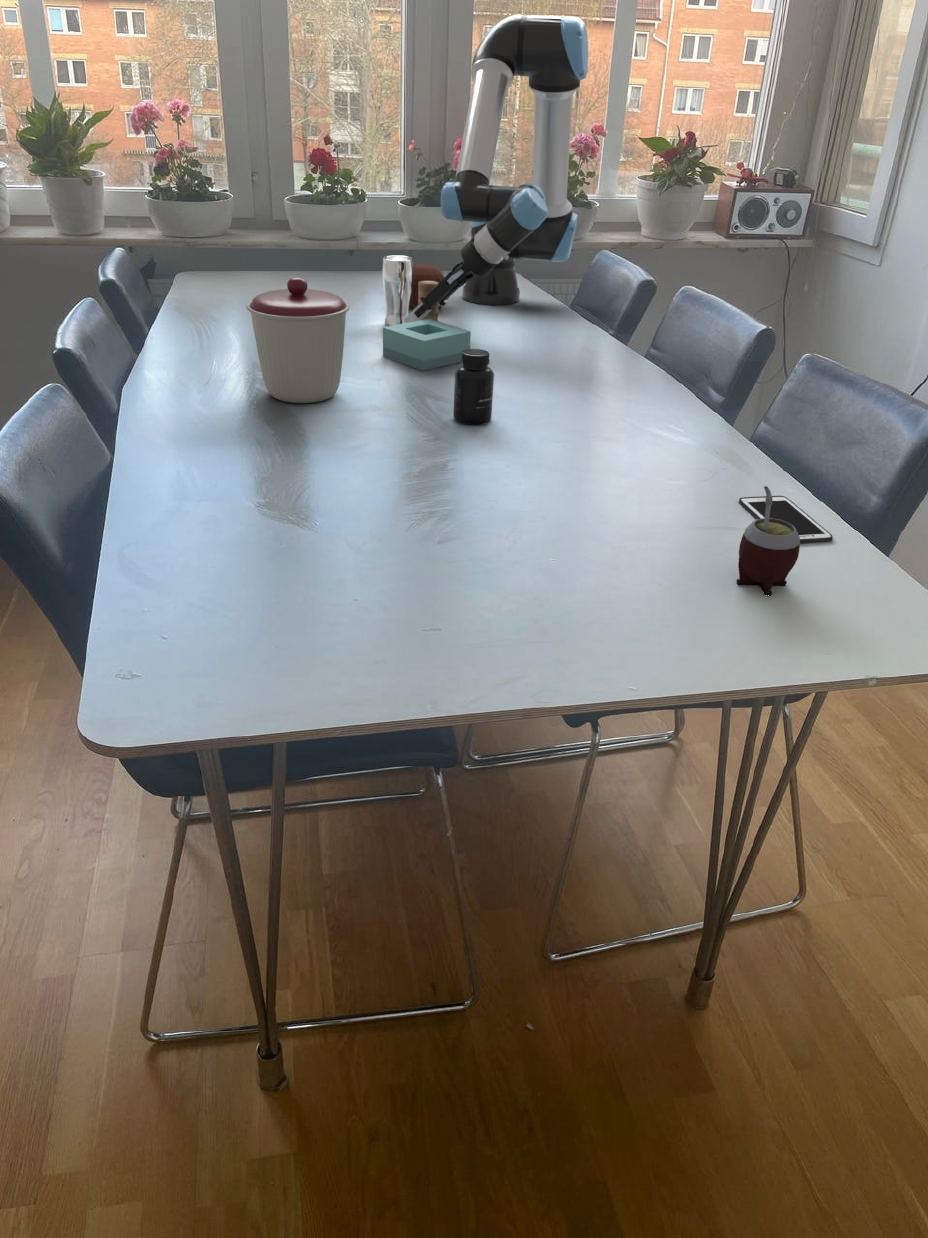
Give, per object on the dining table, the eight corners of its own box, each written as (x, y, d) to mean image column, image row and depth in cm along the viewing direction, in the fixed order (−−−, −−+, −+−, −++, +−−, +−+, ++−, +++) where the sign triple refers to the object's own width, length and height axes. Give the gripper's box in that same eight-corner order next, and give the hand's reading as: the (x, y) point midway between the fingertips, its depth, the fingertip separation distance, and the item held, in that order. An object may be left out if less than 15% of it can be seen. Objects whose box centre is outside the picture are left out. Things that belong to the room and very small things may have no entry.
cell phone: (783, 500, 143) (784, 494, 142) (834, 544, 131) (836, 537, 130) (735, 503, 141) (737, 497, 141) (783, 547, 129) (784, 540, 129)
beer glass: (411, 329, 220) (411, 261, 212) (381, 327, 220) (380, 260, 212) (413, 321, 226) (413, 255, 218) (384, 320, 226) (383, 254, 218)
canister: (333, 415, 167) (329, 292, 156) (237, 405, 170) (226, 283, 159) (363, 385, 182) (361, 271, 171) (275, 376, 185) (267, 263, 174)
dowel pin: (428, 334, 217) (429, 279, 210) (441, 338, 214) (442, 283, 208) (413, 337, 214) (414, 282, 208) (426, 341, 211) (427, 285, 205)
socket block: (428, 346, 208) (429, 318, 205) (469, 359, 200) (470, 331, 197) (382, 355, 200) (382, 327, 197) (423, 370, 192) (423, 340, 189)
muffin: (394, 303, 242) (394, 262, 237) (434, 300, 246) (435, 260, 241) (412, 313, 233) (412, 271, 228) (453, 311, 237) (454, 269, 232)
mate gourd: (779, 571, 122) (805, 462, 114) (800, 602, 115) (829, 488, 108) (722, 570, 122) (745, 460, 114) (740, 601, 115) (764, 486, 107)
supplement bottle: (487, 427, 164) (491, 359, 158) (449, 423, 165) (451, 355, 159) (494, 415, 170) (498, 348, 164) (457, 411, 171) (459, 345, 165)
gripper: (483, 273, 194) (408, 343, 207) (508, 258, 208) (436, 325, 221) (459, 243, 193) (385, 316, 206) (486, 230, 207) (416, 300, 220)
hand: (412, 321), depth 213 cm, fingers closed on dowel pin, 4 cm apart
